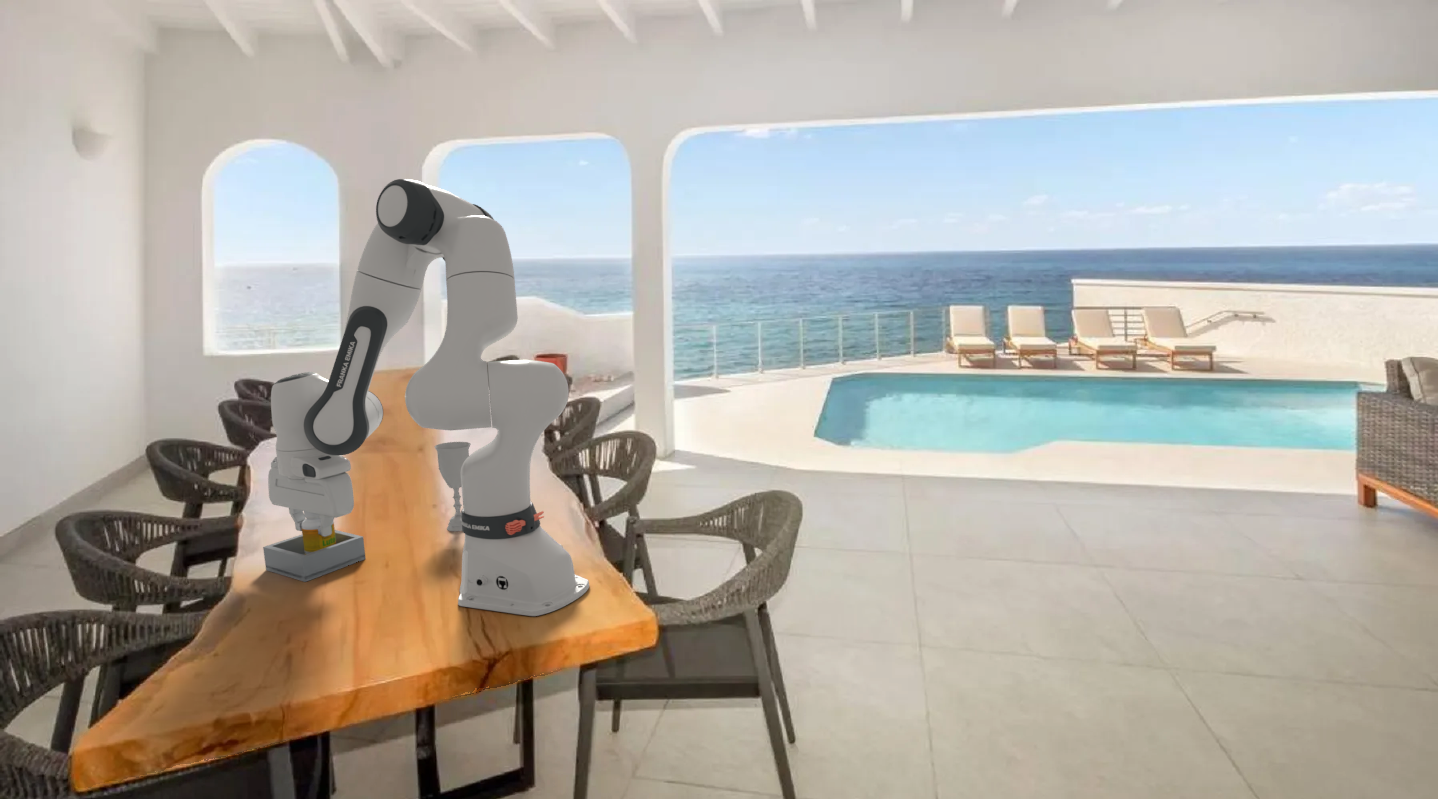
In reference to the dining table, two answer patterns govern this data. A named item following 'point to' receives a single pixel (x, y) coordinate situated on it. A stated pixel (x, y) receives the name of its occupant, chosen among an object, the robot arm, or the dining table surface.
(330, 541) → the supplement bottle
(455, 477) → the chalice
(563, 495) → the dining table surface
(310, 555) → the tray
